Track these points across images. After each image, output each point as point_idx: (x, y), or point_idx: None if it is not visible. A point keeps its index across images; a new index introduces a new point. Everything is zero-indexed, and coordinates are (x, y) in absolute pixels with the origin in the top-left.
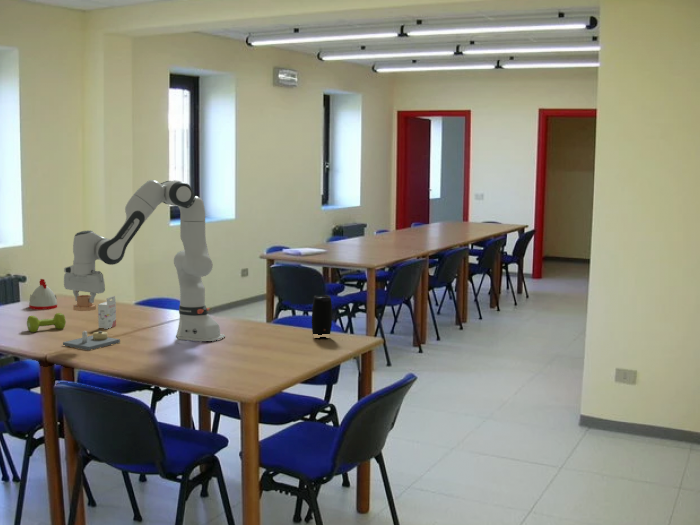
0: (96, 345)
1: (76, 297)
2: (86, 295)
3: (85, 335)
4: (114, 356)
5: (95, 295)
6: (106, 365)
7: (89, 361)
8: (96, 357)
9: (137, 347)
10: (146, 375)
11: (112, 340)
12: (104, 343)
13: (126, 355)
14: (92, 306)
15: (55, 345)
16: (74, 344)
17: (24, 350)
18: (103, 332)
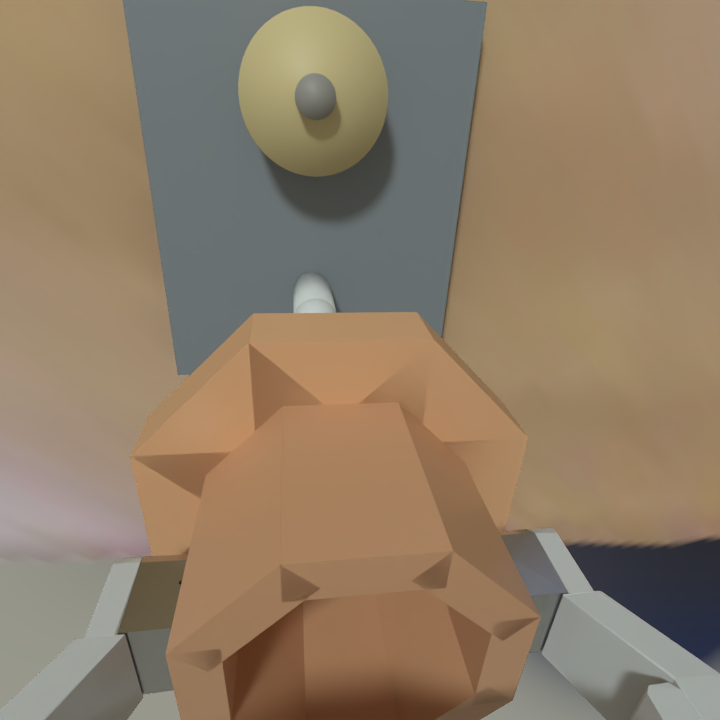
0: (445, 304)
1: (150, 682)
2: (299, 600)
3: None
4: (646, 376)
5: (689, 659)
6: (682, 505)
7: (576, 504)
8: (566, 441)
9: (693, 85)
10: None
11: (456, 95)
12: (456, 220)
13: (702, 323)
14: (502, 487)
15: (133, 382)
16: None
17: (120, 547)
18: (321, 47)
